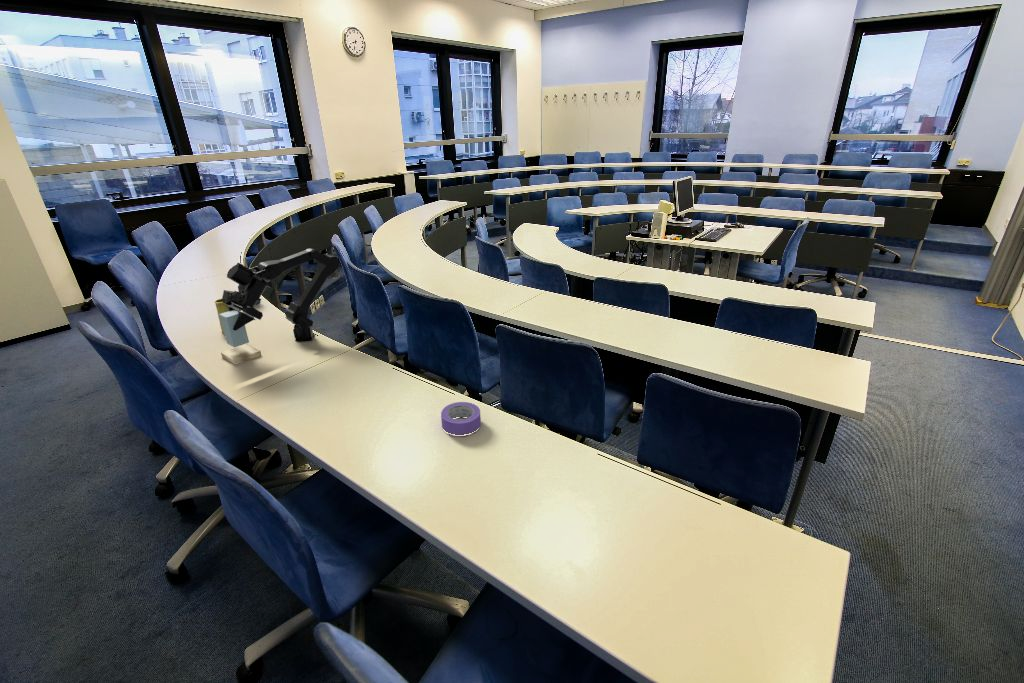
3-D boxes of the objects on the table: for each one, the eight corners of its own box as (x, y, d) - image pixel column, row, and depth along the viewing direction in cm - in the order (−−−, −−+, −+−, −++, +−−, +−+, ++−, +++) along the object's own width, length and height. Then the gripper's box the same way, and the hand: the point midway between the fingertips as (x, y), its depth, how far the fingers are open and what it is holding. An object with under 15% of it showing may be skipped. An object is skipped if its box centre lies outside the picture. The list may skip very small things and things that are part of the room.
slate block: (242, 338, 180) (234, 309, 175) (249, 342, 177) (241, 313, 172) (227, 343, 176) (219, 314, 171) (234, 347, 173) (226, 317, 168)
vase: (234, 327, 207) (226, 296, 201) (240, 330, 204) (232, 300, 198) (219, 331, 203) (210, 300, 197) (225, 335, 200) (216, 303, 194)
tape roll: (434, 425, 142) (433, 411, 140) (463, 410, 150) (463, 397, 147) (458, 442, 134) (457, 428, 132) (488, 426, 142) (488, 412, 140)
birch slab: (248, 348, 185) (247, 343, 185) (261, 355, 180) (260, 350, 179) (222, 357, 178) (220, 352, 177) (234, 365, 173) (233, 360, 172)
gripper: (221, 276, 175) (198, 312, 171) (246, 286, 165) (222, 324, 161) (247, 291, 184) (225, 325, 181) (273, 301, 174) (250, 337, 171)
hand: (230, 328), depth 173 cm, fingers closed on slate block, 5 cm apart
